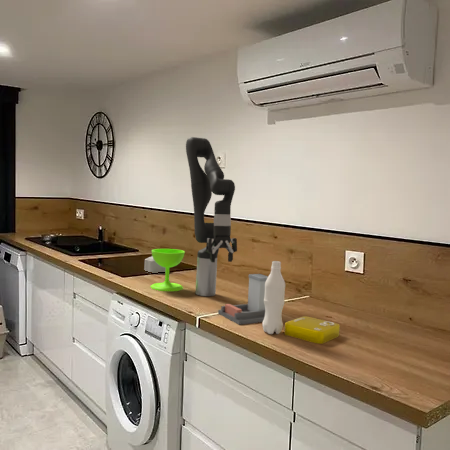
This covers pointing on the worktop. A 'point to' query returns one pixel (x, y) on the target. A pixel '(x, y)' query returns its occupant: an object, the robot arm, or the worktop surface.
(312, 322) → the element tile
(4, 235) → the worktop surface
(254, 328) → the worktop surface
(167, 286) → the wineglass
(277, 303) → the water bottle
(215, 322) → the worktop surface
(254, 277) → the grey tall block
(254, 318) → the track
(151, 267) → the lumpy-topped squat cylinder
